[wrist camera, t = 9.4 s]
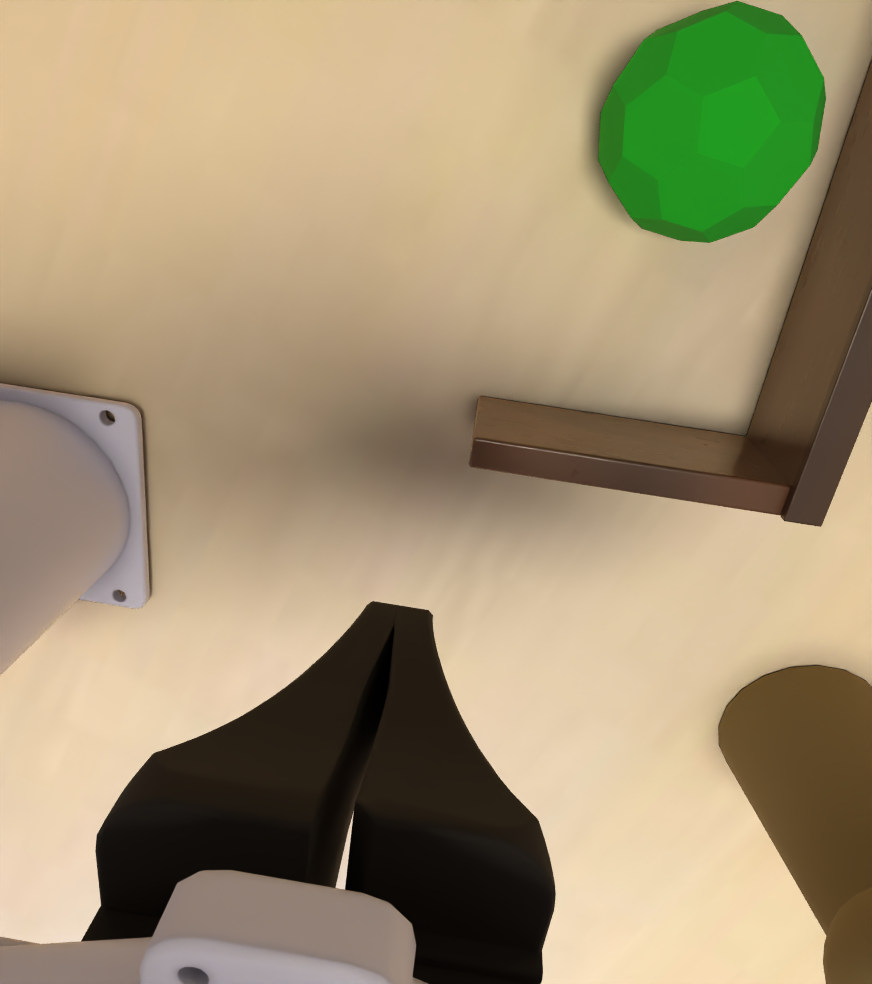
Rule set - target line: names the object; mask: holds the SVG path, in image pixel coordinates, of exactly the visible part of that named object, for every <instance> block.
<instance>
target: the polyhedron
mask: <svg viewBox="0 0 872 984" xmlns="http://www.w3.org/2000/svg"><path fill="white" fill-rule="evenodd" d="M825 100H826V95H825V85H824V77H823V75H822V74H821V72H820V70H819V68H818V66H817V64H816V62H815V60H814V58H813V56H812V54H811V52H810V50H809V49H808V47H807V45H806V43H805V41H804V39H803V37H802V35H801V34H800V33H799V32H798V31H797V30H796V29H795V28H794V27H793V26H792V25H791V24H790V23H789V22H788V21H787V20H786V19H785V18H784V17H783V16H782V15H779V14H776V13H773V12H770V11H767V10H764V9H761V8H758V7H754V6H751V5H748V4H745V3H742V2H739V1H735V2H731V3H728V4H725V5H721V6H718V7H714V8H711V9H707V10H704V11H701V12H699V13H696V14H694V15H691V16H689V17H687V18H684V19H682V20H680V21H677V22H675V23H672V24H670V25H668V26H665V27H663V28H661V29H658V30H656V31H655V32H654V33H652V34H651V35H650V36H649V37H647V38H646V39H645V40H644V41H643V42H642V44H641V45H640V46H639V48H638V49H637V51H636V52H635V54H634V55H633V57H632V58H631V60H630V61H629V63H628V64H627V66H626V67H625V69H624V70H623V72H622V73H621V74H620V76H619V77H618V79H617V80H616V82H615V83H614V85H613V87H612V89H611V91H610V93H609V96H608V98H607V100H606V102H605V104H604V106H603V109H602V111H601V116H600V136H599V157H598V160H599V163H600V165H601V167H602V169H603V171H604V174H605V176H606V178H607V180H608V182H609V184H610V185H611V187H612V188H613V190H614V192H615V193H616V195H617V196H618V198H619V199H620V201H621V203H622V204H623V206H624V207H625V209H626V210H627V212H628V214H629V215H630V217H631V218H632V219H633V220H634V221H635V222H636V223H637V224H638V225H639V226H640V227H641V228H642V229H645V230H648V231H651V232H655V233H658V234H661V235H664V236H667V237H671V238H674V239H677V240H680V241H694V242H708V243H710V242H713V241H716V240H719V239H722V238H724V237H727V236H730V235H733V234H736V233H739V232H742V231H744V230H747V229H750V228H753V227H754V226H756V225H757V224H758V223H759V222H760V221H761V220H762V219H763V218H764V217H765V216H766V215H767V214H768V213H769V212H770V211H771V210H772V209H774V208H775V207H776V206H777V205H778V203H779V202H780V201H781V200H782V199H783V197H784V196H785V195H786V194H787V193H788V191H789V190H790V189H791V188H792V187H793V185H794V184H795V183H796V182H797V180H798V179H799V178H800V177H801V176H802V174H803V173H804V172H805V171H806V170H807V168H808V167H809V166H810V164H811V162H812V160H813V158H814V156H815V154H816V152H817V150H818V144H819V137H820V131H821V125H822V119H823V113H824V107H825Z"/></svg>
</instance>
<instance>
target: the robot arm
mask: <svg viewBox="0 0 872 984" xmlns="http://www.w3.org/2000/svg"><path fill="white" fill-rule="evenodd" d="M106 410H107V411H110V412H111V413H112V414H113V415H114V417H115V422H113V421H111V420H109V419H108V418H107V416H106ZM118 590H121V591H123V592H124V593H125V595H126V596H123V595H121V594H120V593H119V592H118ZM149 597H150V587H149V566H148V545H147V523H146V502H145V480H144V459H143V438H142V419H141V415H140V412H139V411H138V409H137V408H136V407H134V406H133V405H131V404H129V403H125V402H119V401H112V400H106V399H99V398H93V397H86V396H80V395H73V394H67V393H61V392H54V391H48V390H41V389H35V388H28V387H22V386H15V385H9V384H3V383H0V676H1V675H2V674H3V673H4V672H5V671H6V670H7V669H8V668H9V667H10V666H11V665H12V664H13V663H14V662H15V661H16V660H17V659H18V658H19V657H20V656H21V655H22V654H23V653H24V652H25V651H26V650H27V649H28V648H29V647H30V646H31V645H32V644H33V643H34V642H35V641H36V640H37V639H38V638H39V637H40V636H41V635H42V634H43V633H44V632H45V631H46V630H47V629H48V628H49V627H50V626H51V625H52V624H53V623H55V622H56V621H57V620H58V619H59V618H60V617H61V616H62V615H63V614H64V613H65V612H66V611H67V610H68V609H69V608H70V607H71V606H72V605H73V604H74V603H75V602H76V601H77V600H78V599H79V600H85V601H91V602H97V603H103V604H109V605H115V606H122V607H128V608H141V607H143V606H144V605H145V603H146V602H147V601H148V600H149ZM353 811H354V816H353V825H352V833H351V842H350V851H349V860H348V869H347V878H346V886H345V890H343V889H337V888H335V887H336V882H337V878H338V873H339V869H340V864H341V860H342V855H343V851H344V846H345V842H346V837H347V833H348V829H349V825H350V822H351V818H352V815H353ZM96 860H97V869H98V879H99V889H100V898H101V907H100V908H99V910H98V912H97V914H96V916H95V917H94V919H93V921H92V923H91V925H90V926H89V928H88V930H87V932H86V933H85V935H84V937H83V939H82V941H81V942H66V943H50V944H38V943H32V942H27V941H21V940H15V939H10V938H4V937H0V984H541V981H542V975H543V965H542V948H543V945H544V941H545V938H546V935H547V931H548V928H549V925H550V921H551V918H552V915H553V912H554V906H555V895H556V894H555V883H554V877H553V872H552V867H551V862H550V857H549V854H548V850H547V846H546V842H545V839H544V836H543V833H542V830H541V827H540V824H539V821H538V819H537V818H536V817H535V816H534V815H533V814H532V813H531V812H530V811H529V810H528V809H527V808H526V807H525V806H524V805H523V804H522V803H521V802H520V801H519V800H518V799H517V798H516V797H515V796H514V795H513V793H512V792H511V791H510V790H509V789H508V788H507V786H506V785H505V784H504V783H503V781H502V780H501V779H500V778H499V777H498V775H497V774H496V772H495V771H494V769H493V768H492V766H491V765H490V764H489V762H488V761H487V759H486V758H485V756H484V755H483V753H482V752H481V751H480V749H479V748H478V746H477V744H476V743H475V741H474V739H473V737H472V736H471V734H470V732H469V730H468V729H467V727H466V725H465V723H464V721H463V719H462V717H461V715H460V713H459V711H458V709H457V706H456V704H455V702H454V699H453V697H452V694H451V692H450V690H449V687H448V684H447V682H446V679H445V676H444V673H443V669H442V666H441V663H440V660H439V656H438V652H437V648H436V644H435V639H434V633H433V615H432V614H431V613H430V611H429V610H424V609H417V608H411V607H405V606H399V605H393V604H387V603H380V602H374V601H373V602H371V603H369V604H368V605H367V606H366V607H365V609H364V610H363V612H362V613H361V614H360V616H359V617H358V618H357V619H356V621H355V622H354V623H353V624H352V625H351V627H350V628H349V629H348V630H347V631H346V632H345V633H344V634H343V636H342V637H341V638H340V639H339V640H338V641H337V642H336V643H335V644H334V645H333V646H332V647H331V648H330V649H329V650H328V651H327V652H326V653H325V654H324V655H323V656H322V657H321V658H320V659H319V660H317V661H316V662H315V663H314V664H313V665H312V666H311V667H310V668H309V669H307V670H306V671H305V672H304V673H303V674H302V675H300V676H299V677H298V678H297V679H296V680H294V681H293V682H292V683H290V684H289V685H288V686H287V687H285V688H284V689H282V690H281V691H280V692H278V693H277V694H276V695H274V696H273V697H271V698H270V699H268V700H267V701H265V702H264V703H262V704H260V705H259V706H257V707H256V708H254V709H253V710H251V711H249V712H248V713H246V714H244V715H243V716H241V717H239V718H237V719H235V720H233V721H231V722H229V723H227V724H225V725H223V726H221V727H219V728H217V729H215V730H213V731H211V732H208V733H206V734H204V735H202V736H199V737H197V738H194V739H192V740H189V741H186V742H184V743H181V744H178V745H176V746H173V747H170V748H167V749H165V750H162V751H159V752H156V753H154V754H152V756H151V757H150V758H149V759H148V760H147V762H146V763H145V764H144V765H143V766H142V768H141V769H140V770H139V771H138V772H137V774H136V775H135V776H134V777H133V779H132V780H131V781H130V782H129V783H128V785H127V786H126V788H125V789H124V791H123V792H122V794H121V795H120V797H119V798H118V800H117V801H116V803H115V805H114V806H113V808H112V810H111V811H110V813H109V814H108V816H107V818H106V819H105V821H104V823H103V825H102V827H101V828H100V830H99V832H98V834H97V840H96Z"/></svg>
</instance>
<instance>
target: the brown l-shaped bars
mask: <svg viewBox="0 0 872 984" xmlns="http://www.w3.org/2000/svg"><path fill="white" fill-rule="evenodd" d="M871 402H872V62H871V65H870V68H869V71H868V74H867V77H866V80H865V83H864V86H863V89H862V92H861V95H860V98H859V101H858V104H857V107H856V110H855V113H854V116H853V119H852V122H851V125H850V128H849V131H848V134H847V137H846V140H845V143H844V146H843V149H842V152H841V155H840V158H839V161H838V164H837V167H836V170H835V173H834V176H833V179H832V182H831V185H830V188H829V191H828V194H827V197H826V200H825V203H824V206H823V209H822V212H821V215H820V218H819V221H818V224H817V227H816V230H815V233H814V236H813V239H812V242H811V245H810V248H809V251H808V254H807V257H806V260H805V263H804V266H803V269H802V272H801V275H800V278H799V281H798V284H797V287H796V290H795V293H794V296H793V299H792V302H791V305H790V308H789V311H788V314H787V317H786V320H785V323H784V326H783V329H782V332H781V335H780V338H779V341H778V344H777V347H776V350H775V353H774V356H773V359H772V362H771V365H770V368H769V371H768V374H767V377H766V380H765V383H764V386H763V389H762V392H761V395H760V398H759V401H758V404H757V407H756V410H755V413H754V416H753V419H752V422H751V425H750V428H749V431H748V434H747V437H745V436H738V435H732V434H725V433H719V432H712V431H706V430H699V429H693V428H686V427H679V426H673V425H666V424H660V423H653V422H647V421H640V420H633V419H627V418H620V417H614V416H607V415H601V414H594V413H588V412H581V411H574V410H568V409H561V408H555V407H548V406H542V405H535V404H529V403H522V402H515V401H509V400H502V399H496V398H489V397H483V396H481V397H479V398H478V403H477V410H476V416H475V422H474V430H473V438H472V445H471V453H470V461H469V465H470V467H473V468H480V469H486V470H492V471H499V472H505V473H512V474H518V475H525V476H531V477H537V478H544V479H550V480H557V481H563V482H570V483H576V484H582V485H589V486H595V487H602V488H608V489H615V490H621V491H627V492H634V493H640V494H647V495H653V496H660V497H666V498H672V499H679V500H685V501H692V502H698V503H705V504H711V505H717V506H724V507H730V508H737V509H743V510H750V511H756V512H762V513H769V514H775V515H781V518H782V519H783V520H784V521H788V522H794V523H801V524H807V525H814V526H822V523H823V521H824V518H825V516H826V514H827V511H828V509H829V506H830V504H831V501H832V499H833V496H834V494H835V491H836V489H837V486H838V484H839V481H840V479H841V476H842V474H843V471H844V469H845V466H846V464H847V461H848V459H849V456H850V454H851V452H852V449H853V447H854V444H855V442H856V439H857V437H858V434H859V432H860V429H861V427H862V424H863V422H864V419H865V417H866V414H867V412H868V409H869V407H870V404H871Z"/></svg>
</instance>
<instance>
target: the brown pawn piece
mask: <svg viewBox="0 0 872 984" xmlns="http://www.w3.org/2000/svg"><path fill="white" fill-rule="evenodd" d="M719 747H720V749H721V751H722V753H723V755H724V757H725V760H726V762H727V764H728V765H729V767H730V769H731V771H732V772H733V774H734V776H735V777H736V779H737V781H738V783H739V784H740V786H741V788H742V790H743V791H744V793H745V795H746V797H747V798H748V800H749V802H750V804H751V805H752V807H753V809H754V810H755V812H756V814H757V816H758V817H759V819H760V821H761V823H762V824H763V826H764V828H765V830H766V831H767V833H768V835H769V837H770V838H771V840H772V842H773V844H774V845H775V847H776V849H777V850H778V852H779V854H780V856H781V857H782V859H783V861H784V863H785V864H786V866H787V868H788V870H789V871H790V873H791V875H792V877H793V878H794V880H795V882H796V884H797V885H798V887H799V889H800V890H801V892H802V894H803V896H804V897H805V899H806V901H807V903H808V904H809V906H810V908H811V910H812V911H813V913H814V915H815V917H816V918H817V920H818V922H819V923H820V925H821V927H822V929H823V930H824V932H825V934H826V936H827V937H826V940H825V943H824V956H823V965H824V972H825V979H826V984H872V687H871V686H870V684H869V683H868V682H867V681H865V680H863V679H861V678H859V677H857V676H855V675H853V674H851V673H849V672H847V671H845V670H840V669H835V668H829V667H824V666H805V667H792V668H788V669H785V670H781V671H778V672H775V673H772V674H769V675H766V676H763V677H762V678H760V679H759V680H757V681H755V682H754V683H752V684H750V685H749V686H747V687H746V688H744V689H742V690H741V692H740V693H739V694H738V695H737V696H736V697H735V698H734V699H733V700H732V702H731V703H730V704H729V705H728V706H727V707H726V710H725V712H724V714H723V717H722V719H721V722H720V724H719Z"/></svg>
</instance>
